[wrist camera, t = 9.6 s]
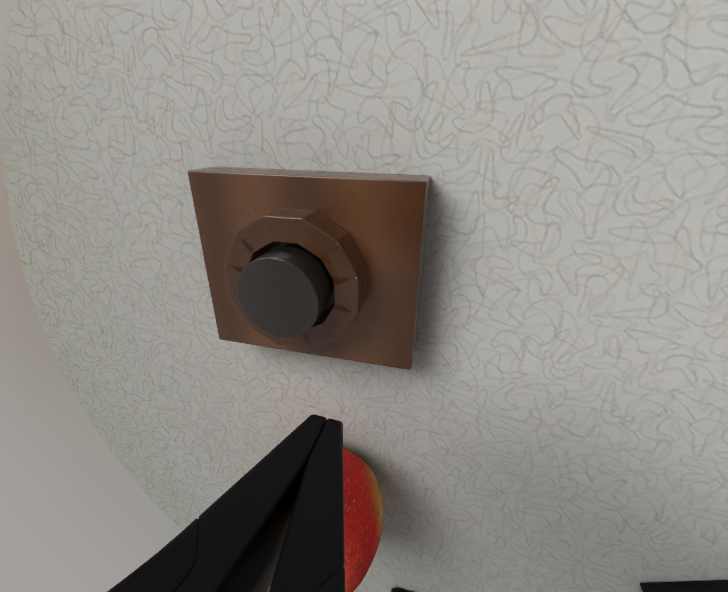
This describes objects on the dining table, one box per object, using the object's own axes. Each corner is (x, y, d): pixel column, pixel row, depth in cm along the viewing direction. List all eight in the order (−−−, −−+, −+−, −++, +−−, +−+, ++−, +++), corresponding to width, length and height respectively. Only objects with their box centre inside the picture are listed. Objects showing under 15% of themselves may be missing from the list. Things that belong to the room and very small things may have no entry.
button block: (238, 322, 24) (200, 355, 21) (213, 166, 20) (160, 174, 16) (415, 348, 21) (406, 391, 18) (430, 175, 17) (422, 187, 14)
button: (260, 315, 19) (242, 332, 17) (251, 242, 17) (230, 253, 16) (332, 325, 18) (320, 344, 16) (330, 249, 16) (316, 262, 15)
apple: (278, 461, 29) (198, 604, 20) (313, 400, 25) (234, 544, 17) (363, 510, 29) (320, 675, 20) (411, 456, 25) (384, 631, 16)
